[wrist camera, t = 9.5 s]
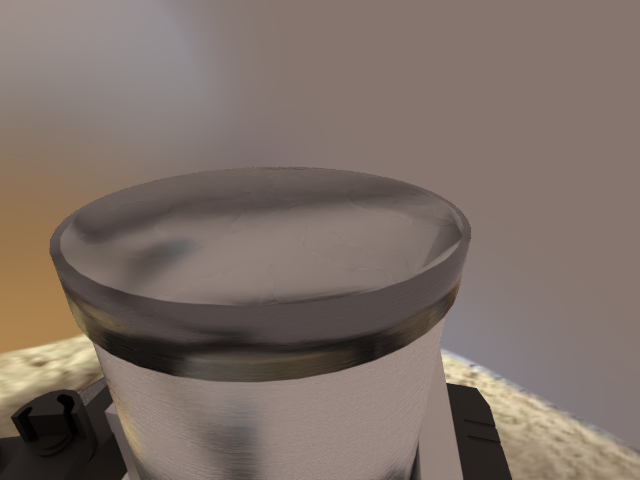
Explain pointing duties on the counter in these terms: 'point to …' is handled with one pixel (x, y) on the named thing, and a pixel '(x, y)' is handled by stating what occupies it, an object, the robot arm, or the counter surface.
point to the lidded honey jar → (266, 318)
